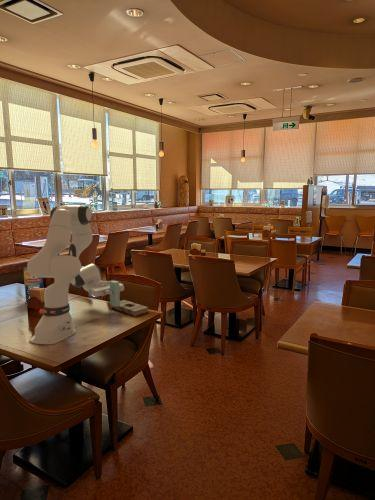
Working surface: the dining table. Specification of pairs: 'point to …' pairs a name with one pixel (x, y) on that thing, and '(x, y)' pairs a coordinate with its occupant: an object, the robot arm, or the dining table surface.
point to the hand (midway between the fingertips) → (115, 292)
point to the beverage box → (31, 282)
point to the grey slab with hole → (131, 308)
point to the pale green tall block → (114, 294)
